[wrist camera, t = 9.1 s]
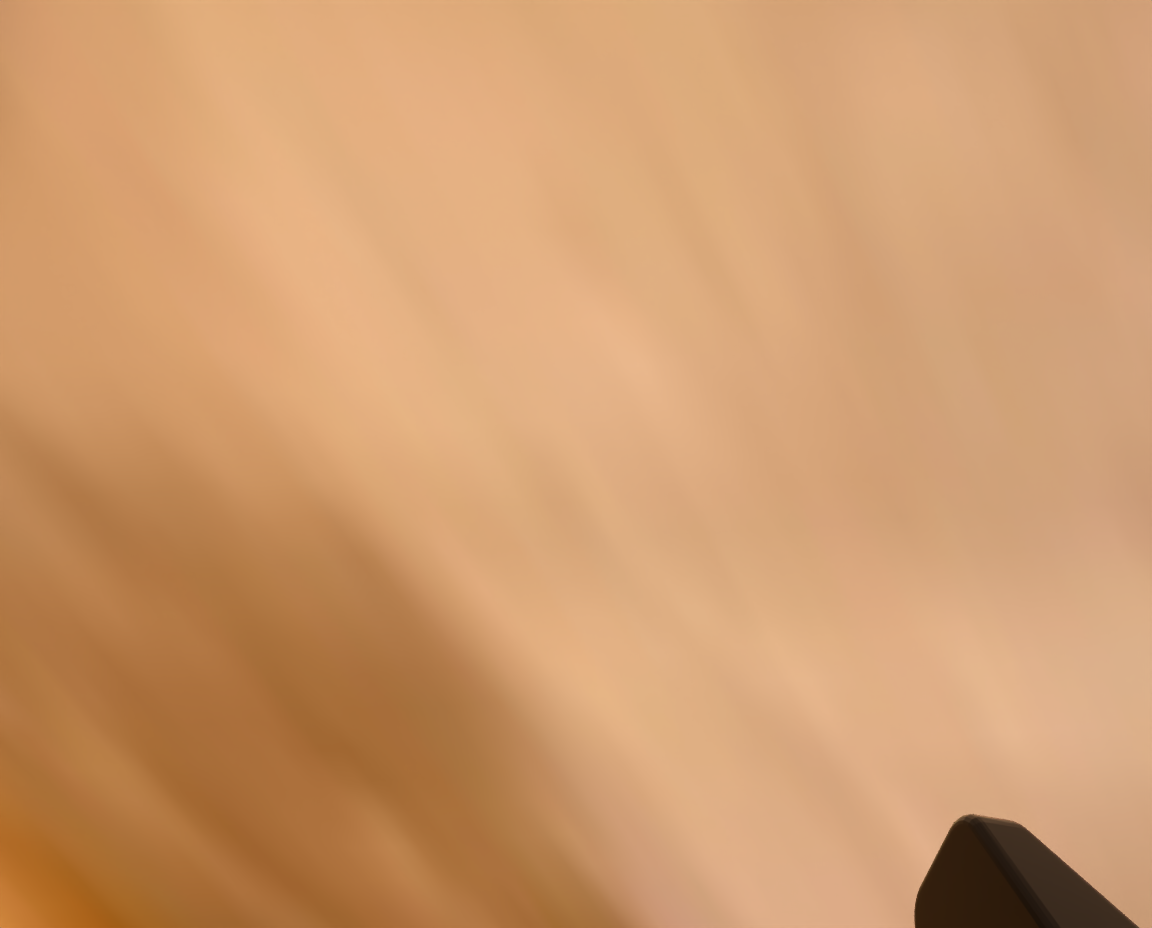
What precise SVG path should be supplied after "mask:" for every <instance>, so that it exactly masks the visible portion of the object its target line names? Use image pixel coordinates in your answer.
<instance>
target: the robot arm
mask: <svg viewBox="0 0 1152 928" xmlns="http://www.w3.org/2000/svg"><path fill="white" fill-rule="evenodd" d="M915 928H1139V927H1138V926H1137V925H1136V924H1134V923H1133V922H1132V921H1131V920H1130V919H1129V918H1128V917H1126V916H1125V915H1124V914H1123V913H1122V912H1121V911H1120V910H1118V909H1117V908H1116V907H1115V906H1114V905H1113V904H1112V903H1110V902H1109V901H1108V900H1107V899H1106V898H1105V897H1104V896H1102V895H1101V894H1100V893H1099V892H1098V891H1097V890H1096V889H1094V888H1093V887H1092V886H1091V885H1090V884H1089V883H1088V882H1086V881H1085V880H1084V879H1083V878H1082V877H1081V876H1080V875H1078V874H1077V873H1076V872H1075V871H1074V870H1073V869H1072V868H1070V867H1069V866H1068V865H1067V864H1066V863H1065V862H1064V861H1062V860H1061V859H1060V858H1059V857H1058V856H1057V855H1056V854H1055V853H1053V852H1052V851H1051V850H1050V849H1049V848H1048V847H1047V846H1045V845H1044V844H1043V843H1042V842H1041V841H1040V840H1039V839H1037V838H1036V837H1035V836H1034V835H1033V834H1032V833H1031V832H1029V831H1028V830H1027V829H1026V828H1025V827H1023V826H1022V825H1020V824H1018V823H1016V822H1014V821H1010V820H1005V819H999V818H993V817H986V816H980V815H974V814H970V815H964V816H962V817H960V818H959V819H958V820H957V821H955V822H954V824H953V825H952V827H951V828H950V830H949V832H948V834H947V836H946V838H945V840H944V842H943V844H942V846H941V848H940V849H939V851H938V853H937V855H936V857H935V859H934V861H933V863H932V865H931V867H930V869H929V871H928V873H927V875H926V877H925V879H924V881H923V882H922V884H921V886H920V889H919V891H918V894H917V898H916V903H915Z"/></svg>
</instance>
